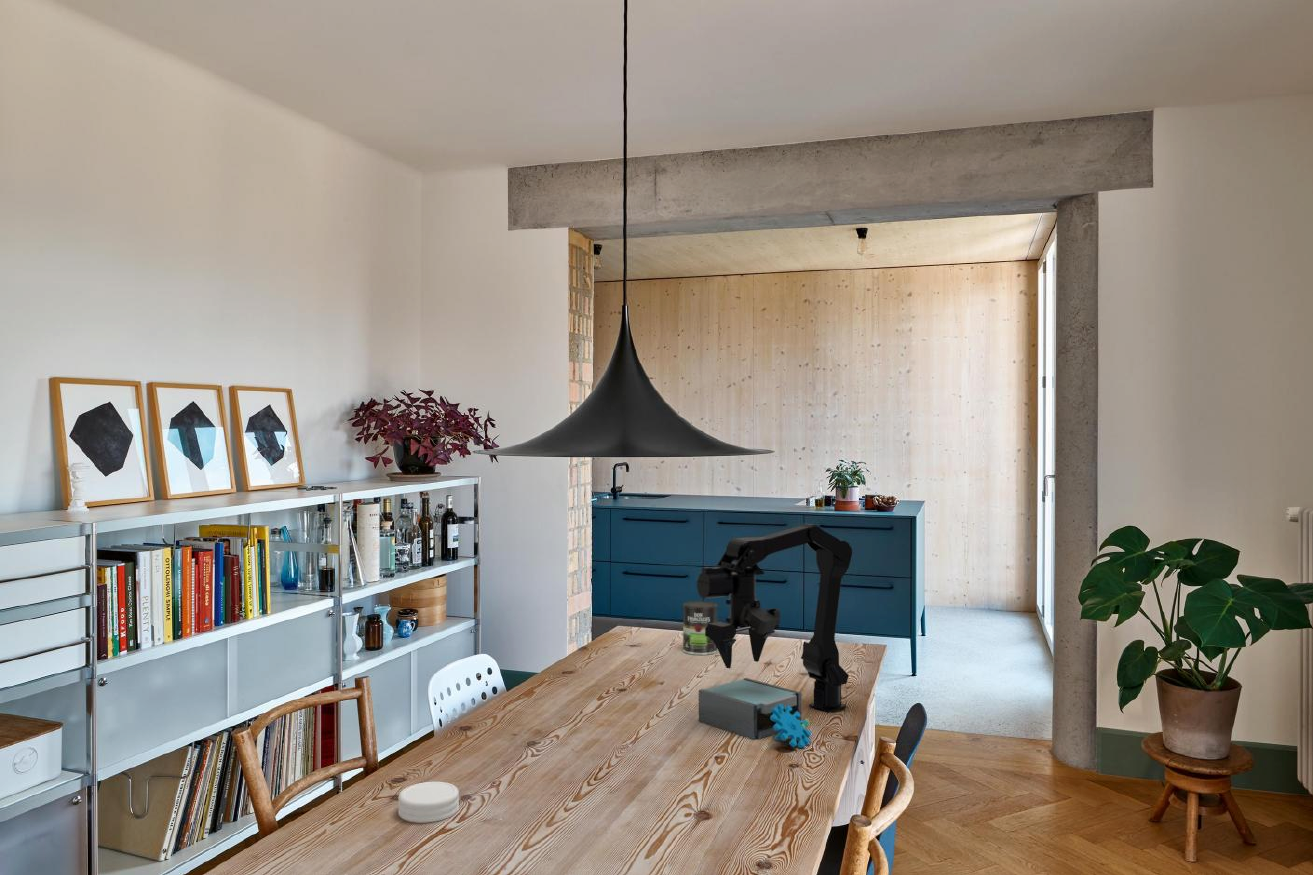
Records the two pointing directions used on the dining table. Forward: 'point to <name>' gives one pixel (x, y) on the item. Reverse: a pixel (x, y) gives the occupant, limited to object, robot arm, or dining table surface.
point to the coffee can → (698, 627)
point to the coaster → (428, 802)
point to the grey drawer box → (737, 713)
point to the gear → (790, 726)
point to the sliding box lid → (756, 694)
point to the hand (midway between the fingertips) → (742, 664)
